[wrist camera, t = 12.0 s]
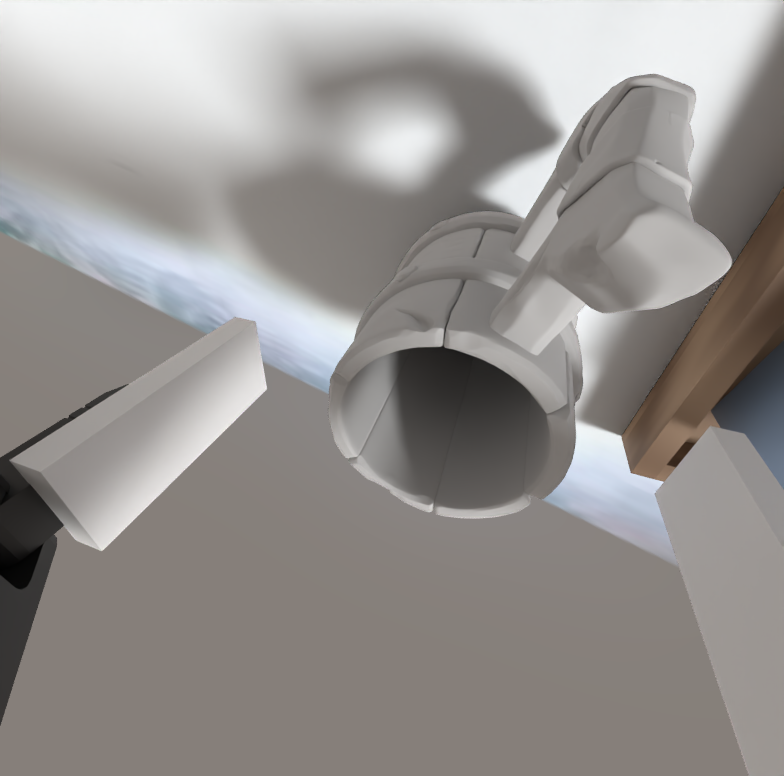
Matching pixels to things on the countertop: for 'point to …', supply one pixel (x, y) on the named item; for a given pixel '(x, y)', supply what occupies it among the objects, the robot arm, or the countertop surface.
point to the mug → (521, 313)
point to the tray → (714, 354)
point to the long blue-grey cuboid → (759, 410)
